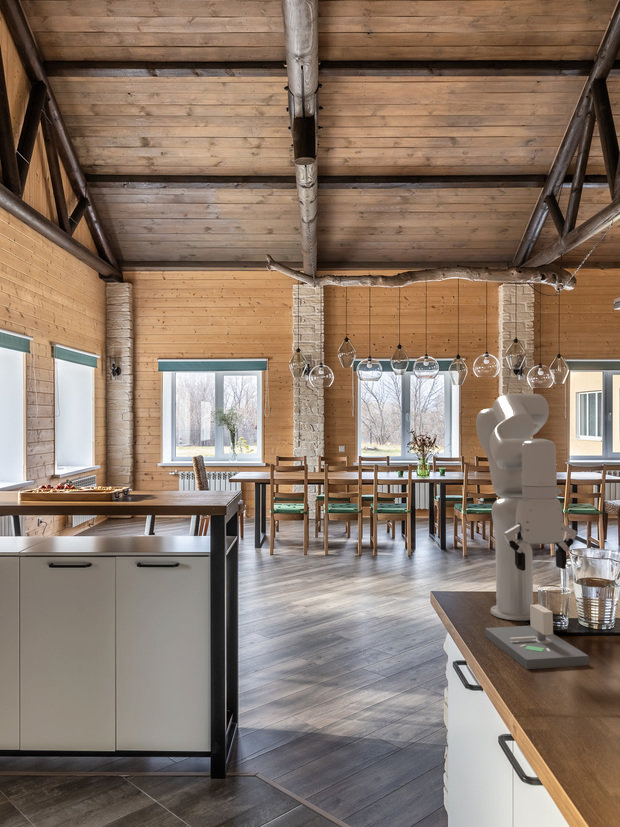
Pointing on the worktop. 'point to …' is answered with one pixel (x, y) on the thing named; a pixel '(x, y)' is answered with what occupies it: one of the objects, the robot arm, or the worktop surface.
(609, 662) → the worktop surface
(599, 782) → the worktop surface
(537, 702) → the worktop surface
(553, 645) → the dial board
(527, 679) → the worktop surface
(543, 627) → the door lever handle
